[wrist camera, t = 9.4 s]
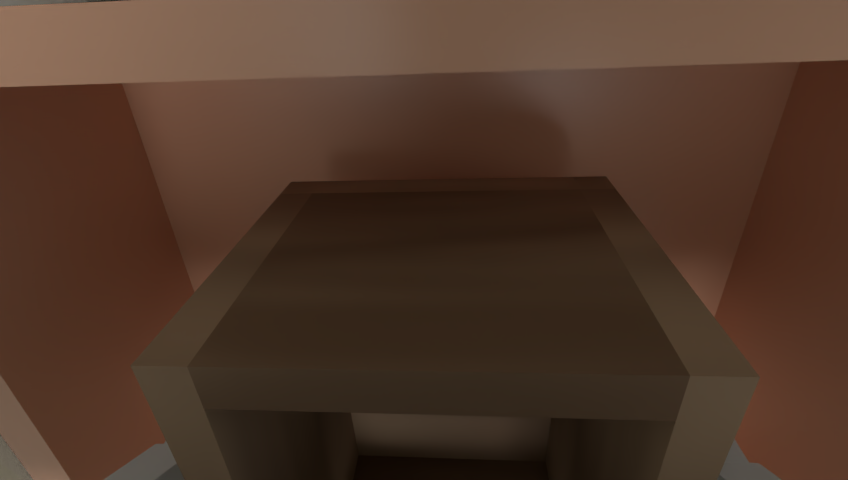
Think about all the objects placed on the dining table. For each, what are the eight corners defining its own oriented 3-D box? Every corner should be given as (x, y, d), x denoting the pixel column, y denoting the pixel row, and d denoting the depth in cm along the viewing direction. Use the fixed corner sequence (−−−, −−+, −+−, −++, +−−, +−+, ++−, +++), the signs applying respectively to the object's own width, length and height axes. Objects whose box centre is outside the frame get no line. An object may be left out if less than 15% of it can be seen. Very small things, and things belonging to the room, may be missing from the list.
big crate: (84, 2, 10) (-303, 20, 5) (845, -33, 9) (1380, -60, 4) (234, 425, 17) (135, 619, 12) (681, 438, 16) (792, 663, 11)
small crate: (291, 181, 9) (130, 366, 5) (605, 176, 8) (760, 376, 4) (343, 449, 13) (283, 688, 8) (562, 456, 12) (618, 714, 8)
